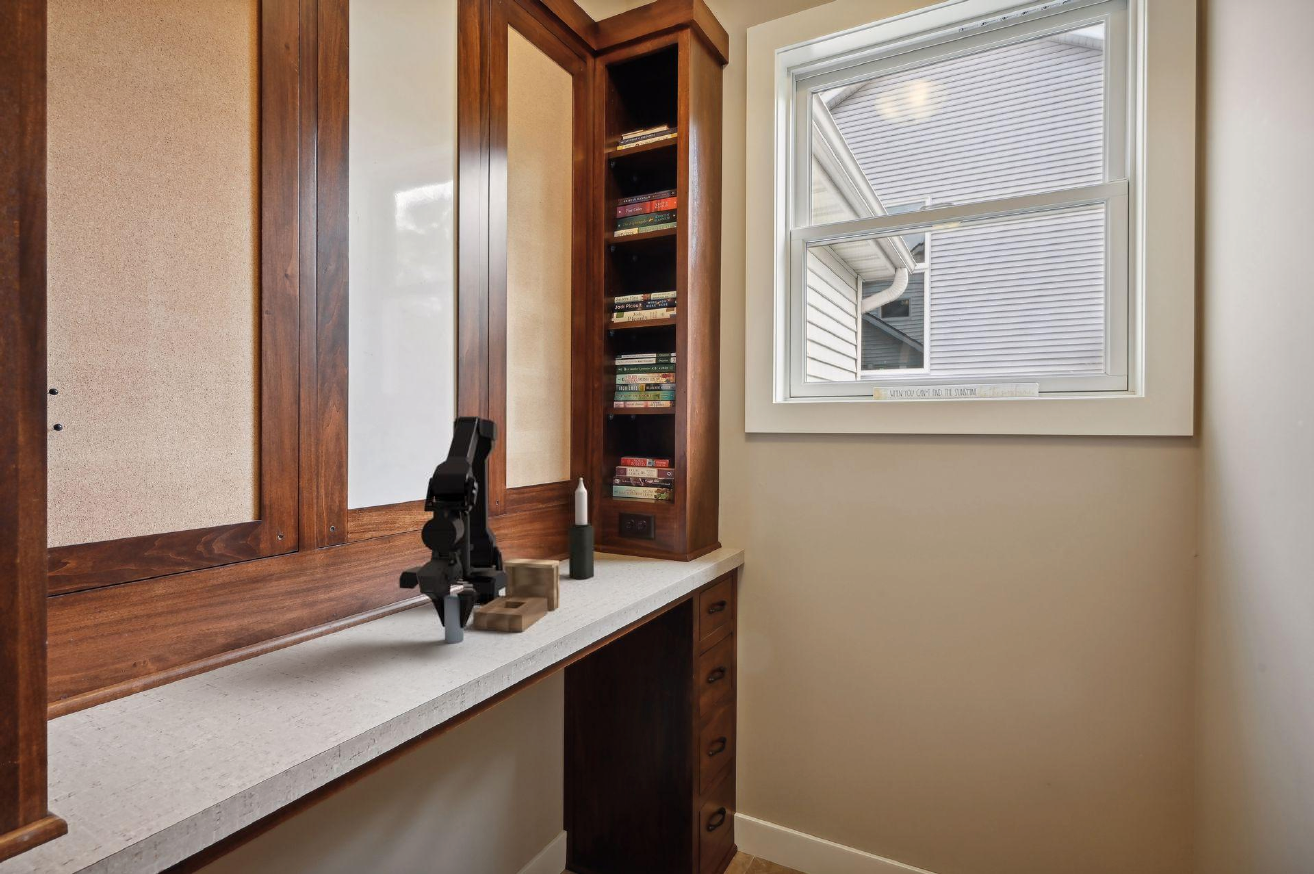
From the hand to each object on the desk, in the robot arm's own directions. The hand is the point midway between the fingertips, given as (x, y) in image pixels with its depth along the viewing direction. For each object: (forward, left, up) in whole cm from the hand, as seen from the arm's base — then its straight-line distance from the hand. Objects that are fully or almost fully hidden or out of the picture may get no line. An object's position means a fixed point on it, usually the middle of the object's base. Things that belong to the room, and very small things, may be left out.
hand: (454, 627), depth 120 cm
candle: (+6, +51, -3) cm, 51 cm away
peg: (0, 0, -2) cm, 2 cm away
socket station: (+5, +16, -2) cm, 17 cm away
